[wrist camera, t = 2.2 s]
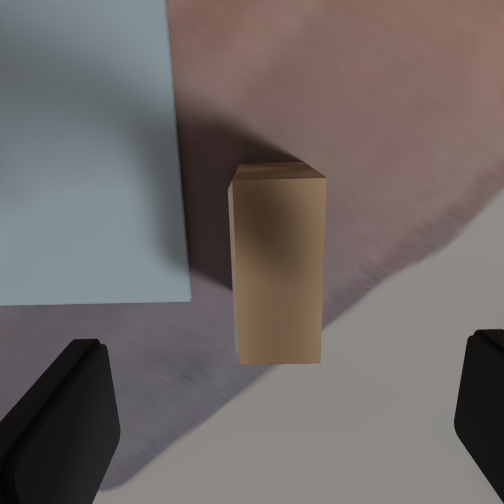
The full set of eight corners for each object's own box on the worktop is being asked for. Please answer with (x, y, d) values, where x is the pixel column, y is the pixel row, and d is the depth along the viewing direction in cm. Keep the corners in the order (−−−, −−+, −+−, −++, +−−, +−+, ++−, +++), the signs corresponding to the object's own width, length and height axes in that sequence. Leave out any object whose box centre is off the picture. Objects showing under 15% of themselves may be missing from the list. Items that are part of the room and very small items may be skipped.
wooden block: (303, 161, 20) (327, 178, 14) (301, 294, 23) (320, 363, 16) (235, 163, 20) (226, 180, 14) (241, 296, 23) (235, 364, 16)
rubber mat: (165, -6, 18) (163, -9, 17) (191, 297, 23) (190, 301, 22) (-162, 5, 18) (-174, 2, 18) (-65, 303, 23) (-71, 306, 23)
